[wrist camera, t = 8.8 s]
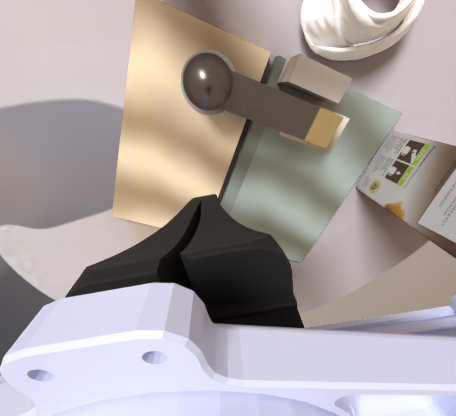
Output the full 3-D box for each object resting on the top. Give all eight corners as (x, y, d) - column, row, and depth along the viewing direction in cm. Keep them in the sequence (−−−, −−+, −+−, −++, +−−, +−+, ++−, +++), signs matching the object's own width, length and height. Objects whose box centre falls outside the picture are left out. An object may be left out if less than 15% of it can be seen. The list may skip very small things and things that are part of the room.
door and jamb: (298, 257, 27) (310, 281, 24) (115, 210, 23) (97, 232, 19) (393, 112, 19) (433, 117, 16) (141, -5, 15) (118, -34, 11)
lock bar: (183, 98, 17) (177, 100, 14) (194, 51, 15) (189, 43, 13) (311, 146, 19) (327, 155, 16) (331, 108, 18) (351, 112, 15)
